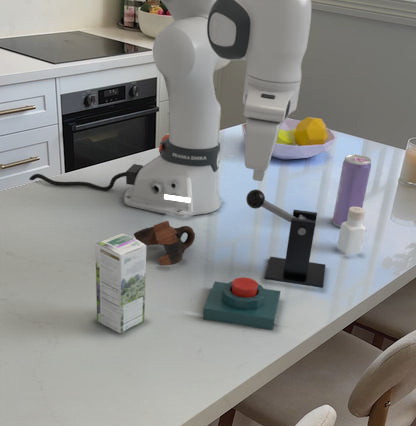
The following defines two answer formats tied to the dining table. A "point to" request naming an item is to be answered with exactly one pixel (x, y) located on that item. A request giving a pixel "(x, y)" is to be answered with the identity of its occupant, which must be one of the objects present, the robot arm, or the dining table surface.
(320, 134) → the fruit bowl
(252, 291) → the button
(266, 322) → the teal base plate
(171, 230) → the brown clay jug
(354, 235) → the pepper shaker
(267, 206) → the lever handle
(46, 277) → the dining table surface
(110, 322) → the syrup box
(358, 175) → the beverage can
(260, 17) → the robot arm
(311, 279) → the lever stand
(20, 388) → the dining table surface
